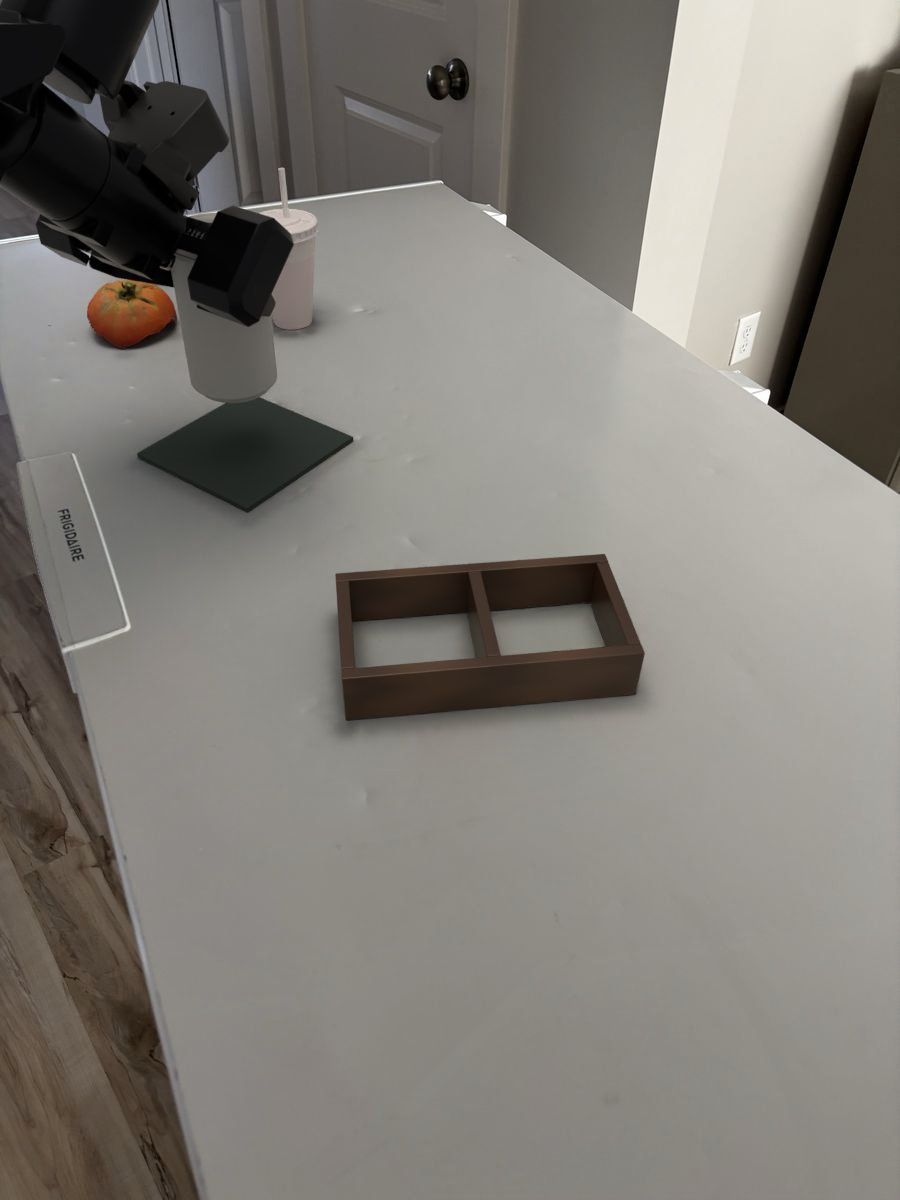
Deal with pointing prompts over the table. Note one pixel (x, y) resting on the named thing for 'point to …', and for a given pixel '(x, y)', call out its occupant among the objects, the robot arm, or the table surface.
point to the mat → (245, 450)
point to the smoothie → (295, 265)
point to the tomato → (129, 311)
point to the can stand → (487, 636)
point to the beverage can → (223, 345)
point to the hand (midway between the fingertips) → (237, 297)
